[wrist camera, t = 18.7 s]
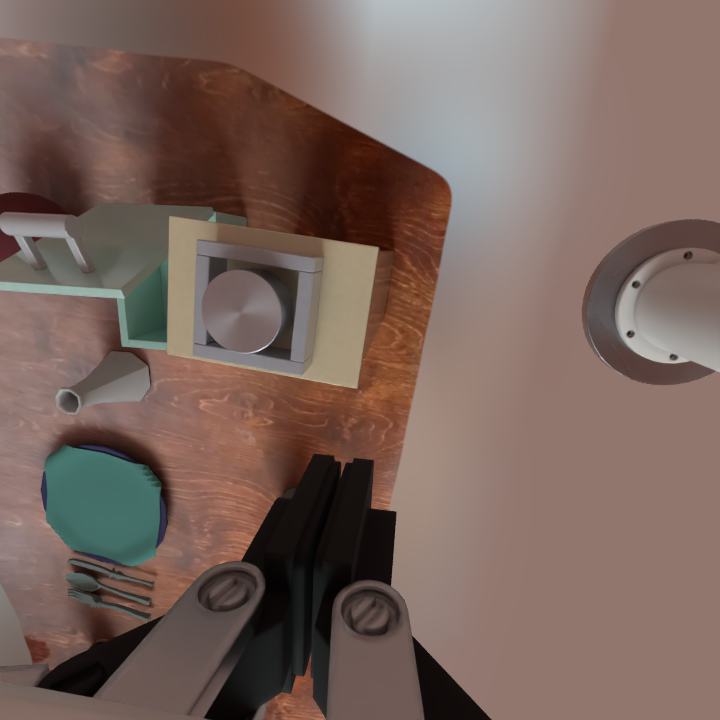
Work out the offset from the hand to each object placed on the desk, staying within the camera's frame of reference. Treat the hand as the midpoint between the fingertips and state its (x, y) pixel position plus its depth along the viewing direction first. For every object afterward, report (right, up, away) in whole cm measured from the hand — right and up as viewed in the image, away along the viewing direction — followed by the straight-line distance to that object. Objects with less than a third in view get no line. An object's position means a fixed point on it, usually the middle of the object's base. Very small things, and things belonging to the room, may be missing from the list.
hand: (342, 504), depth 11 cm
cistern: (-2, +14, +37) cm, 40 cm away
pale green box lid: (-21, +14, +24) cm, 35 cm away
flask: (-31, +2, +45) cm, 55 cm away
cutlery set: (-38, -22, +52) cm, 68 cm away
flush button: (-5, +7, +12) cm, 15 cm away
